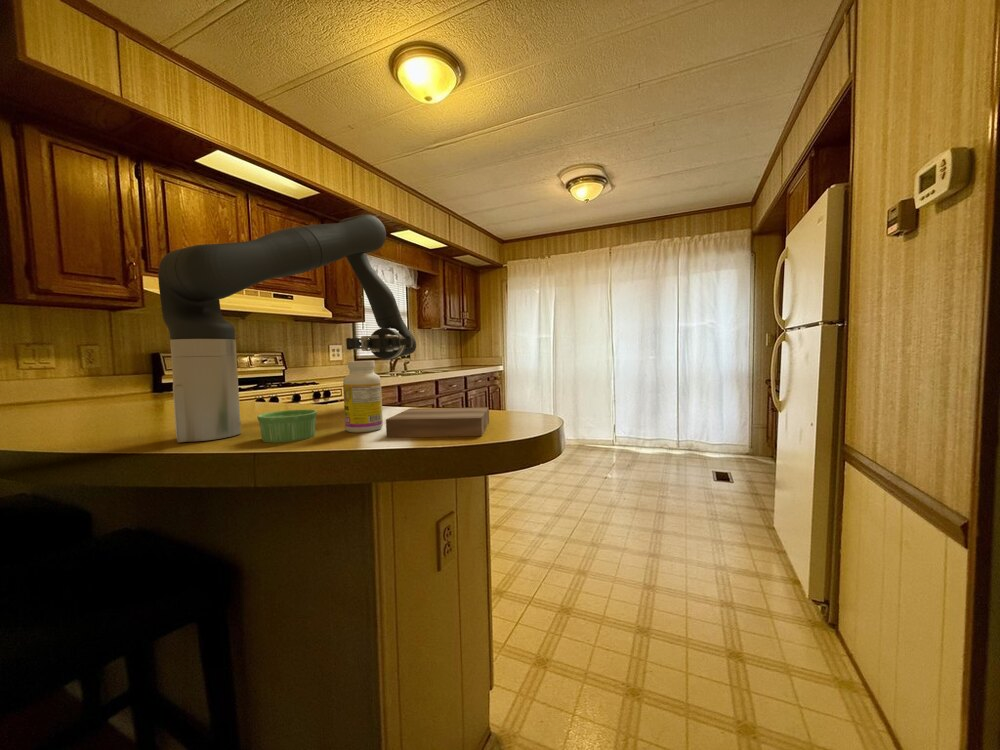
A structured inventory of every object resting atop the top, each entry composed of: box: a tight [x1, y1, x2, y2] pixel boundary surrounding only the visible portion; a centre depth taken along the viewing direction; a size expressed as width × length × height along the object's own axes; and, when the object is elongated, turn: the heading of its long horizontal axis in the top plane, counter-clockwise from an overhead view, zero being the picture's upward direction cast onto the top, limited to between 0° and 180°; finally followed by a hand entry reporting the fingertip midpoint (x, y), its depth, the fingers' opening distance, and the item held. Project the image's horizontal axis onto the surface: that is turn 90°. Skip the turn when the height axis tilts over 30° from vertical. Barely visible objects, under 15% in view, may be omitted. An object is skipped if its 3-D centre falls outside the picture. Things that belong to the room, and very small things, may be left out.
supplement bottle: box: [342, 360, 384, 434], centre depth 73 cm, size 7×7×13 cm
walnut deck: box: [385, 406, 490, 438], centre depth 71 cm, size 13×16×3 cm
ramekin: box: [257, 409, 318, 444], centre depth 67 cm, size 9×9×4 cm
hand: (374, 342), depth 83 cm, fingers open, 8 cm apart
